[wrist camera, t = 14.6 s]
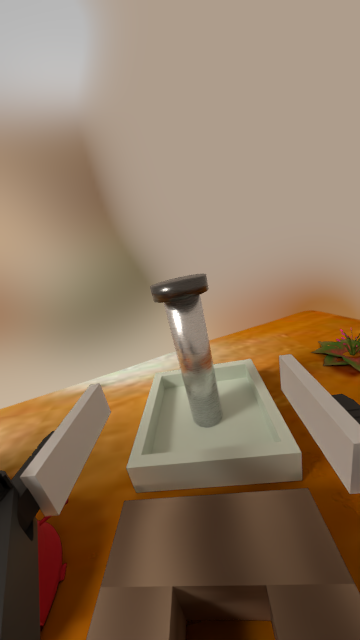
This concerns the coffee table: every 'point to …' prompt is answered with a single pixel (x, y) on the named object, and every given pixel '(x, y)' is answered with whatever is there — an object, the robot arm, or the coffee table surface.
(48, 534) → the alarm clock
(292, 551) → the brown square frame
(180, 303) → the steel pin
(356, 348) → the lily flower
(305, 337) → the coffee table surface
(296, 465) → the sage tray
